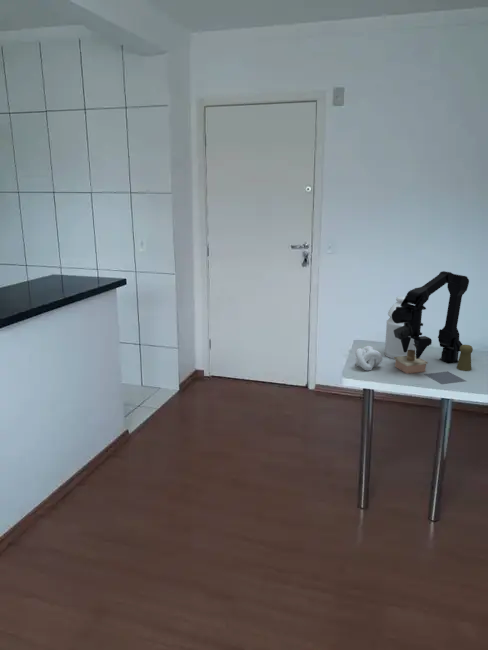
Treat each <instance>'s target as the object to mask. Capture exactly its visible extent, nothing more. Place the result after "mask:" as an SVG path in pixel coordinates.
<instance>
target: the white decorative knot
mask: <svg viewBox="0 0 488 650" xmlns="http://www.w3.org/2000/svg"><path fill="white" fill-rule="evenodd" d="M382 361H383V355H382V353H381V352H380V351H378V350H376V349H374V347H373V346H370V345H366V346H364V347H363V348H361V347H359V348H357V349H356V351H355V365H356V366H357V367H359V368H361V369H362V370H364V371H366V372H367V371H368V372H369V371H371V370H372V369H373V368H375V367H378V366H379V365H381V363H383V362H382Z"/></svg>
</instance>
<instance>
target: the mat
mask: <svg viewBox="0 0 488 650" xmlns="http://www.w3.org/2000/svg"><path fill="white" fill-rule="evenodd" d="M423 375H424V376H426V377H428V378H429V379H432V380H433V381H435V382H437V383H439V384H440V385H446V384H448V385H449V384H454V383H463V382H467V380H465V379H464V378H462V377H459V376H458V375H456V374H454V373H452V372H450V371H441V372H431V373H423Z"/></svg>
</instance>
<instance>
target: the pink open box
mask: <svg viewBox="0 0 488 650" xmlns="http://www.w3.org/2000/svg"><path fill="white" fill-rule="evenodd" d="M394 367H395V368H396V369H398V370H400V371H401V372H403V373H404V374H406V375H408V374H418V373H425V372H426V368H427V364H423V365H413V366H406V365H404V364H402V363H400V362H399V361H397V360H395V363H394Z"/></svg>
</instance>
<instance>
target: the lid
mask: <svg viewBox="0 0 488 650" xmlns="http://www.w3.org/2000/svg"><path fill="white" fill-rule="evenodd" d="M393 360H395V361H396V360H397V361H399V362H400V363H402V364H404V365H406V366H413V365H423V364H426V365H428V363H429V362H428V361H426V360H424V359H423V358H421V357H420V358H419V359H416V349H415V350H408V351H407V356H401V357H394V359H393Z"/></svg>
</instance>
